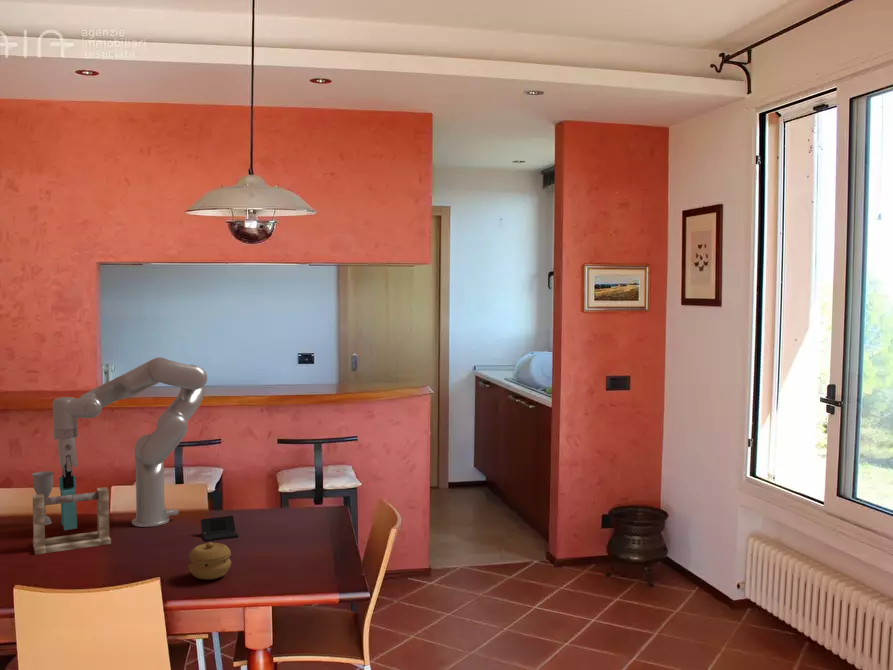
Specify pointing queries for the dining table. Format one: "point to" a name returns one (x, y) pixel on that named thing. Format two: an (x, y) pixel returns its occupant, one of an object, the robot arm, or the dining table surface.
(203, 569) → the pot
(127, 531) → the dining table surface
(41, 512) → the rack
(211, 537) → the handheld gaming console
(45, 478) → the chalice
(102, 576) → the dining table surface
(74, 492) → the teal rectangular block
